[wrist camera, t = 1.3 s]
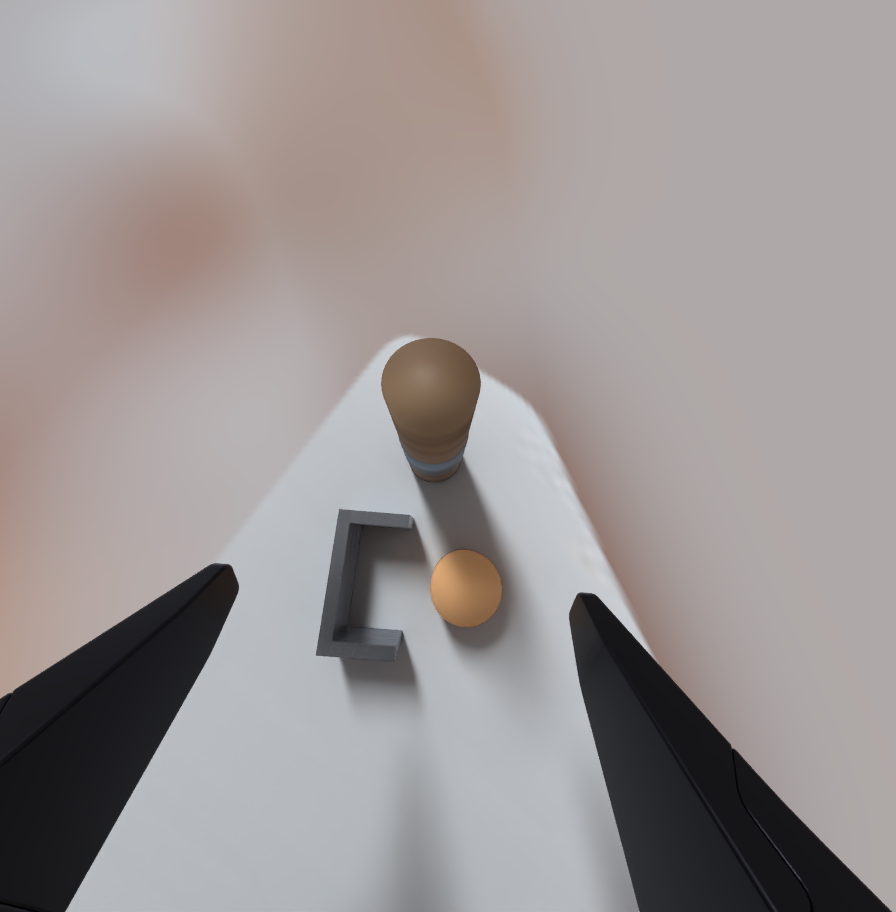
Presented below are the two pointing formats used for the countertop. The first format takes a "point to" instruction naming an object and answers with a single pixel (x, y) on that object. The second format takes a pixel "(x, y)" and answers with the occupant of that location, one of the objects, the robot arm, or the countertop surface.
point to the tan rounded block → (465, 588)
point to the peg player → (432, 404)
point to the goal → (334, 623)
